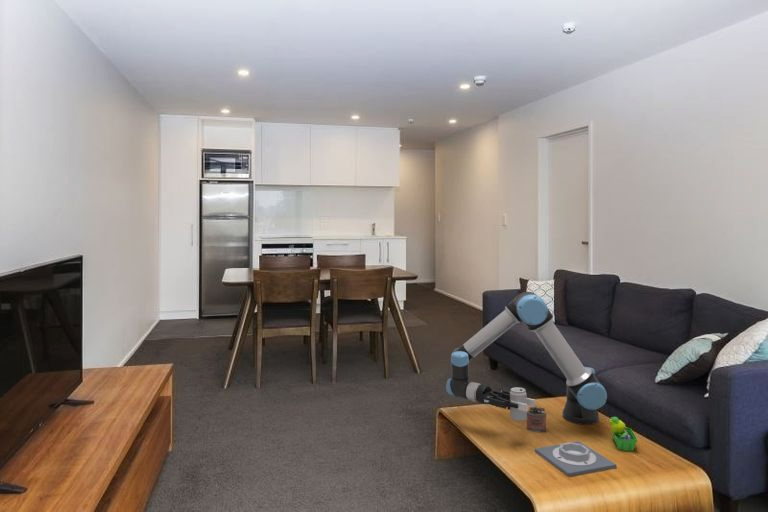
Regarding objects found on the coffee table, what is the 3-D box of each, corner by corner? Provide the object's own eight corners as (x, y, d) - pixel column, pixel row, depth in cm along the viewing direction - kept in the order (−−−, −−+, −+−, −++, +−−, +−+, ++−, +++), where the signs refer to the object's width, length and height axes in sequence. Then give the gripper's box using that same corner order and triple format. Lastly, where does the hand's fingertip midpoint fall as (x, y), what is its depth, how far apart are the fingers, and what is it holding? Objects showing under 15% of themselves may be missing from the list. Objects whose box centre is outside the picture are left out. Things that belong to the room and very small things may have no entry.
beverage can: (527, 422, 188) (527, 392, 188) (510, 421, 189) (510, 391, 189) (526, 416, 194) (525, 387, 194) (509, 415, 196) (509, 386, 195)
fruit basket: (638, 453, 183) (638, 423, 182) (612, 450, 185) (612, 421, 184) (630, 440, 194) (630, 412, 193) (606, 438, 196) (606, 411, 195)
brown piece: (526, 430, 205) (526, 407, 204) (526, 427, 208) (526, 404, 208) (546, 433, 202) (546, 409, 201) (546, 430, 205) (546, 406, 204)
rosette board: (579, 444, 191) (579, 434, 191) (616, 467, 172) (616, 456, 171) (534, 451, 185) (534, 441, 185) (568, 476, 166) (568, 465, 166)
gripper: (491, 396, 211) (541, 408, 195) (467, 408, 198) (518, 422, 181) (491, 379, 211) (541, 389, 194) (466, 390, 197) (518, 402, 181)
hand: (530, 405), depth 188 cm, fingers closed on beverage can, 6 cm apart
